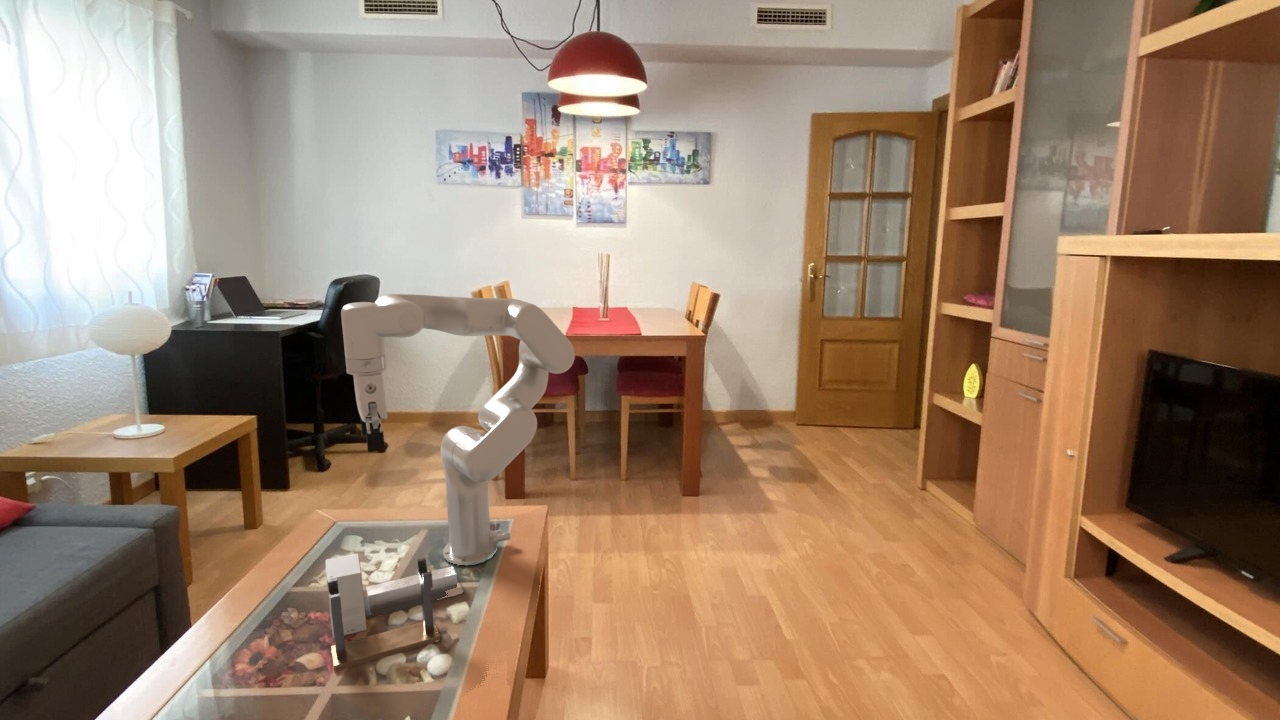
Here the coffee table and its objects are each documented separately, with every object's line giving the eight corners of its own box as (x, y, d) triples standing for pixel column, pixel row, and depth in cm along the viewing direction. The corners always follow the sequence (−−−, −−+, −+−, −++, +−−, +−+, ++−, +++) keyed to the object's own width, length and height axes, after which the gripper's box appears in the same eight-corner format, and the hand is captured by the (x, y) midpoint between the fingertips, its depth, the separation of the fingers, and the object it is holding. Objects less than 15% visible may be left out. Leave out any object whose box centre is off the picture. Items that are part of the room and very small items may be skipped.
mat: (456, 577, 156) (456, 574, 155) (464, 593, 150) (464, 591, 149) (361, 600, 147) (361, 598, 146) (365, 619, 141) (365, 616, 140)
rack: (433, 623, 140) (429, 556, 136) (440, 641, 134) (435, 572, 130) (331, 651, 131) (323, 581, 127) (334, 671, 126) (325, 599, 122)
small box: (367, 630, 137) (361, 572, 134) (332, 639, 135) (325, 580, 131) (364, 607, 144) (358, 552, 141) (330, 615, 142) (324, 559, 138)
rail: (453, 579, 154) (452, 566, 153) (457, 588, 151) (456, 573, 150) (367, 601, 145) (366, 587, 144) (369, 610, 142) (368, 595, 141)
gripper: (392, 372, 134) (398, 454, 139) (379, 351, 149) (385, 426, 154) (350, 377, 131) (358, 460, 135) (341, 355, 146) (349, 431, 150)
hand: (373, 442), depth 144 cm, fingers open, 9 cm apart
